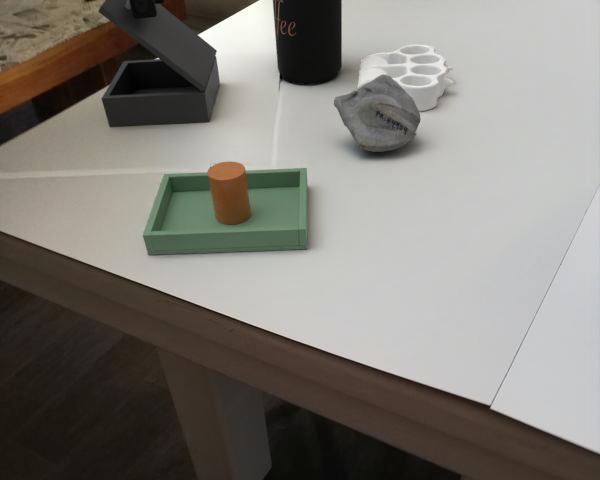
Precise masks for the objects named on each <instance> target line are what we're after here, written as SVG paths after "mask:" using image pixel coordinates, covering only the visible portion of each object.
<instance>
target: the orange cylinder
mask: <svg viewBox="0 0 600 480" xmlns="http://www.w3.org/2000/svg"><path fill="white" fill-rule="evenodd" d="M246 171H247V169H246V166H245V165H244V164H243V163H240V162H237V161H222V162H218V163H215V164H213V165H211V166H210V167H209V169H208V170H207V172H208V179H209V185H210V190H211V196H212V201H213V207H214V213H215V218H216V220H217V221H218V222H220V223H222V224H227V225H233V224H239V223H242V222H244V221H246V220H247V219H248V218H249V217H250V215H251V209H250V201H249V193H248V185H247V178H246Z"/></svg>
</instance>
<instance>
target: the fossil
mask: <svg viewBox="0 0 600 480" xmlns="http://www.w3.org/2000/svg"><path fill="white" fill-rule="evenodd" d="M333 106H334V107H335V108H336V110H337V112H338V114H339V116H340V118H341V121H342V123H343V125H344V126H345V128H346V129H347V130H348V131H349V133H350V135H351V136H352V137H353V140H354V142H355V143H356V144H357V145H358V147H359V148H361V149H362V150H364V151H367V152H372V153H376V152H377V153H378V152H379V153H384V152H390V151H393V150H397V149H401V148H402V147H403V146H405V145H406V144H407V143H408V142H409V141H410V140H412V139H414V138H415V137H416V136H417V130H418V128H419V126H420V123H421V114H420V111H419V110H418V108H417V106H416V104H415V102H414V100H413V98H412V97H411V96H410V95H409V94H408V93H407V92H406V91H405V90H404V89H403V88H402V87H401V86H400V85H399V84H398V83H397V82H396V81H395V80H393V79H392V78H391V77H390V76H388V75H380V76H378V77H377V78H375V79H374V80H372V81H371V82H369V83H367V84H365V85H364V86H362V87H360V88H359V89H358V90H357V89H356V90H355V89H354V90H353V91H351V92H350V93H349V92H348V93H346V94H343V95H338V96H335V97H334V99H333Z"/></svg>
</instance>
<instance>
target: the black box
mask: <svg viewBox="0 0 600 480" xmlns="http://www.w3.org/2000/svg"><path fill="white" fill-rule="evenodd" d="M220 85H221V80H220V73H219V66H218V61H217V55H215V58H214V62H213V65H212V68H211V71H210V74H209V78H208V81H207V84H206V87H205V89H204V91H203V92H202V91H201V90H199V89H198V88H197V87H195V86H194V85H193V84H192V83H190V82H189V81H188V80H186V79H185V78H184V77H182V76H181V75H180V74H179V73H177V72H176V71H175V70H173V69H172V68H171V67H169V66H168V65H167V64H166V63H164V62H163V61H162V60H160V59H159V58H158V59H157V58H156V59H155V58H154V59H139V60H137V59H136V60H124V61H123V62H122V63H121V65H120V67H119V68H118V70H117V71H116V73H115V75H114V77H113V79H112V80H111V81H110V84H109V85H108V87H107V88H106V90H105V92H104V93H103V95H102V97H101V102H102V105H103V109H104V112H105V115H106V119H107V123H108V126H109V128H122V127H123V128H125V127H142V126H143V127H144V126H145V127H146V126H163V125H165V126H167V125H186V124H187V125H189V124H205V123H207V124H208V123H210V121H211V118H212V114H213V111H214V107H215V104H216V100H217V96H218V94H219V93H218V92H219V90H220Z"/></svg>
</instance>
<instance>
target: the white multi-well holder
mask: <svg viewBox="0 0 600 480" xmlns="http://www.w3.org/2000/svg"><path fill="white" fill-rule="evenodd" d="M359 63H360V65H359V71H358V81H357V85H356V91H357V90H358V89H359V88H360V87H362V86H364V85H365V84H367V83H369V82H371V81H372V80H374V79H375V78H377V77H378V76H380V75H388V76H390V77H391V78H392V79H393V80H395V81H396V82H397V83H398V84H399V85H400V86H401V87H402V88H403V89H404V90H405V91H406V92H407V93H408V94H409V95H410V96H411V97H412V98H413V100H414V102H415V104H416V106H417V108H418V110H419V112H424V111H429V110H431V109H434V108H435V107H436V106H437V105H438V99H439V98H440V97H442V96H443V94H444V93H445V90H446V88H448V87H450V86H453V85H454V84H456V82H455V81H454V80H452V79H450V78H449V77H448V73H449V72H450V71H452V70H453V69H454V68H453V67H451V66H449V65H447V59H445V57H444V56H443V55H440V54H437V53H436V48H435V47H434V46H432V45H427V44H415V43H414V44H408V45H403V46H401V47H399V48H398V49H397V50H394V51H385V52H383V51H381V52H379V51H378V52H374V53H370V54H367V55H366V56H364V57H363V58H362V59H360V61H359Z"/></svg>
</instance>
